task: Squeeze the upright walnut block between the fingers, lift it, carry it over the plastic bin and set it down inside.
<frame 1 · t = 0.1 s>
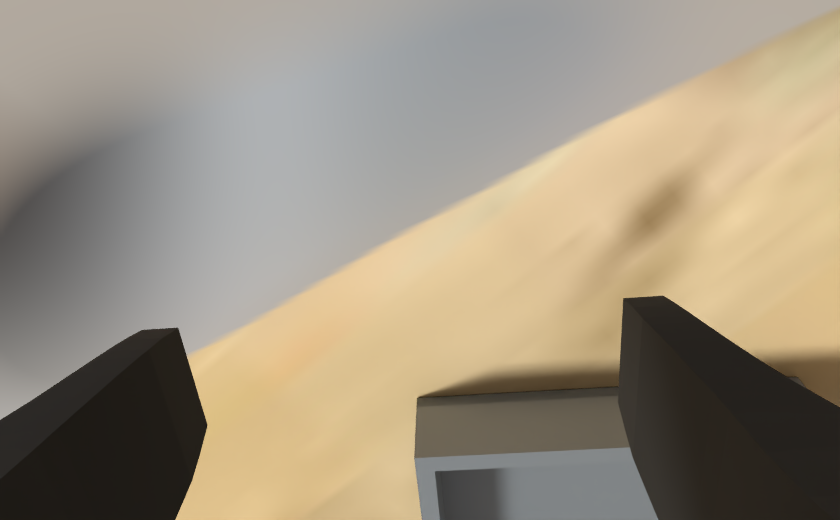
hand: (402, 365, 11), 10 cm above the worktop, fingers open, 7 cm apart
bin: (599, 493, 26), on the worktop
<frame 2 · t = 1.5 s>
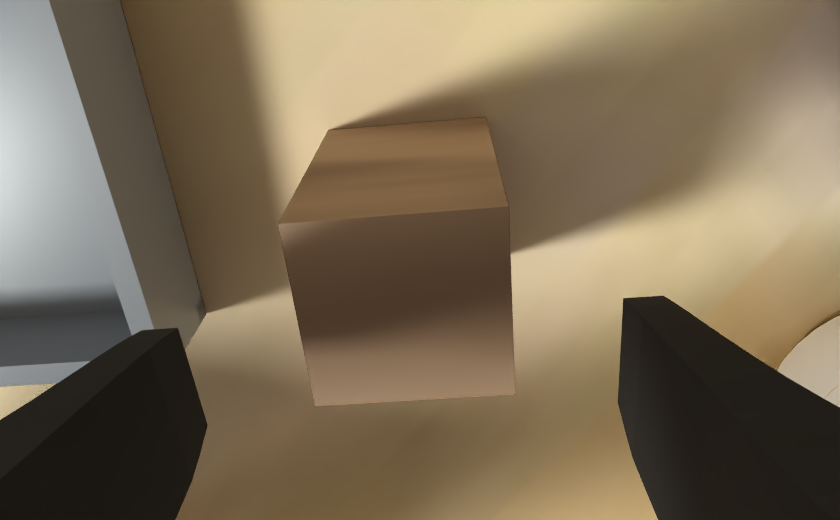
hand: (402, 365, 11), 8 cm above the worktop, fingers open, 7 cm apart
walnut block: (413, 197, 18), on the worktop
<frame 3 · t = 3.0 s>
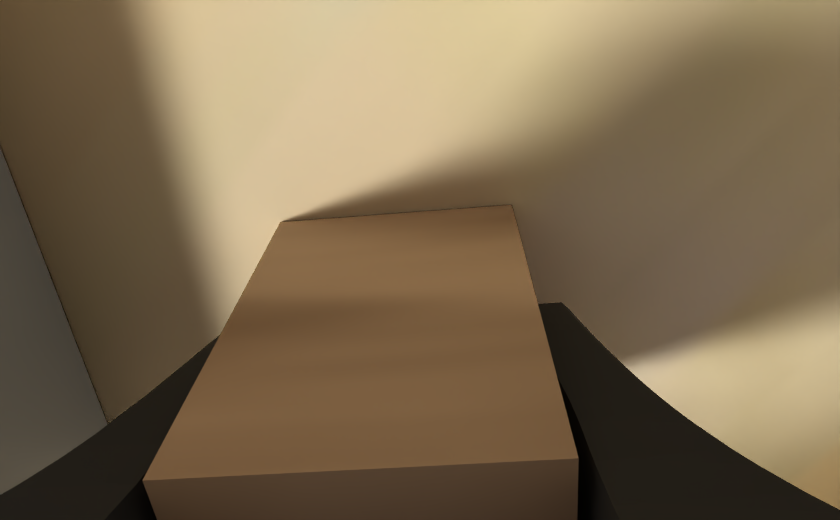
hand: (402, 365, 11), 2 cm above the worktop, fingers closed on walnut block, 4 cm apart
walnut block: (406, 313, 12), on the worktop, touching gripper
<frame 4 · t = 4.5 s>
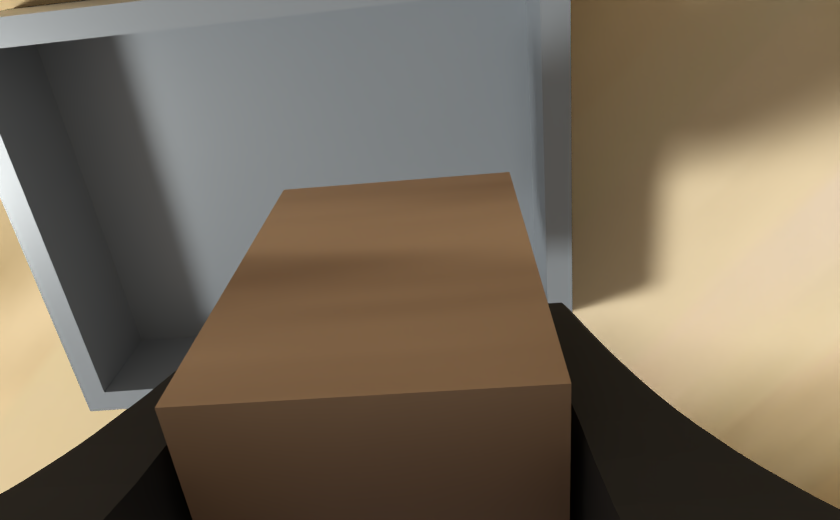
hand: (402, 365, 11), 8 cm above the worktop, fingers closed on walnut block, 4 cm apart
bin: (310, 178, 18), on the worktop
walnut block: (406, 280, 13), point 6 cm above the worktop, touching gripper
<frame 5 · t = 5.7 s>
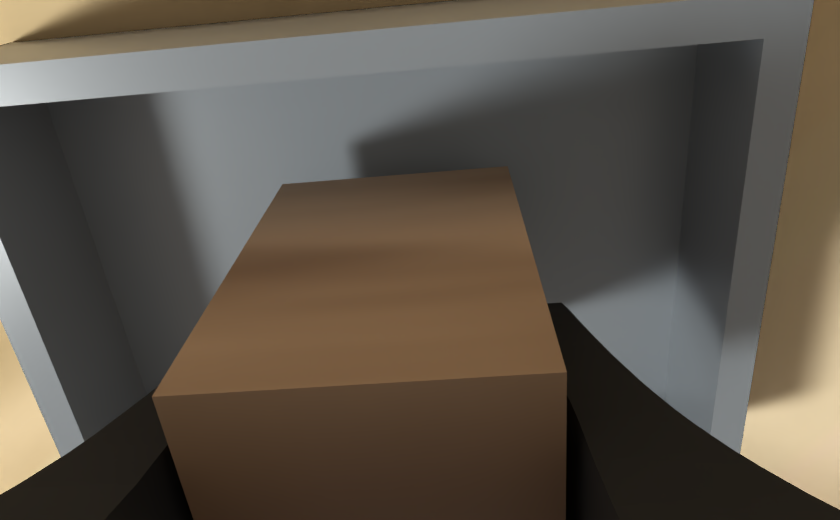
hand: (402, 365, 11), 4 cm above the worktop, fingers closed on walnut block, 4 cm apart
bin: (388, 259, 14), on the worktop
walnut block: (405, 275, 13), point 2 cm above the worktop, touching gripper
when the fingers open (4 cm above the worktop, at t = 6.3 s): walnut block drops 1 cm, resting on bin.
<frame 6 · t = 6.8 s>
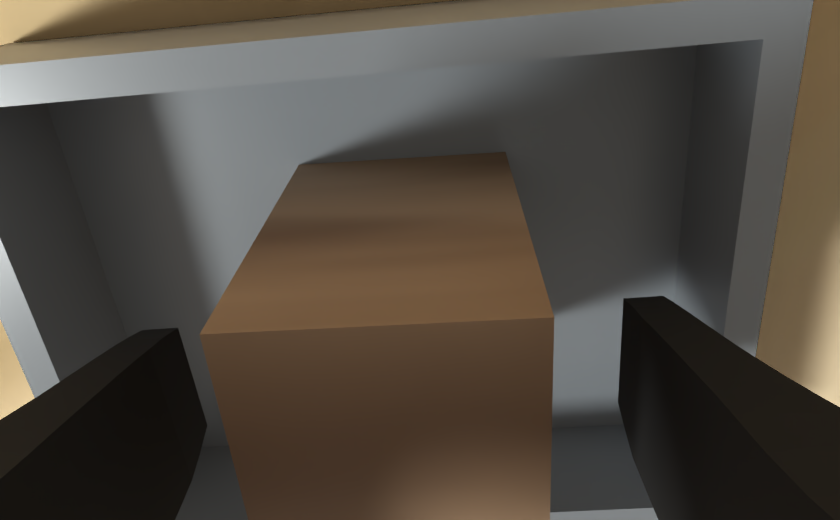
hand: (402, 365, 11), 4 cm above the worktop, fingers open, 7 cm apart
bin: (388, 259, 14), on the worktop
walnut block: (409, 251, 14), resting on bin
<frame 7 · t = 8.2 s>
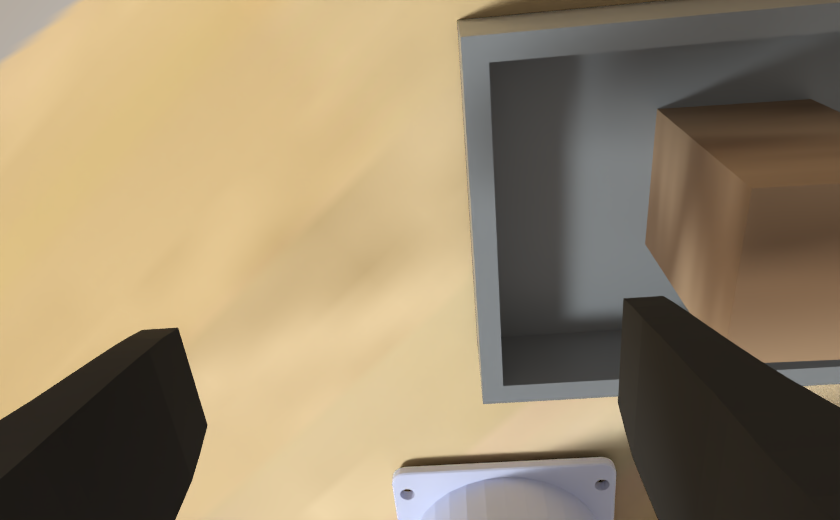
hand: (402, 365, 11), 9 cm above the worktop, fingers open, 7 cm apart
bin: (696, 184, 19), on the worktop
walnut block: (723, 175, 18), resting on bin
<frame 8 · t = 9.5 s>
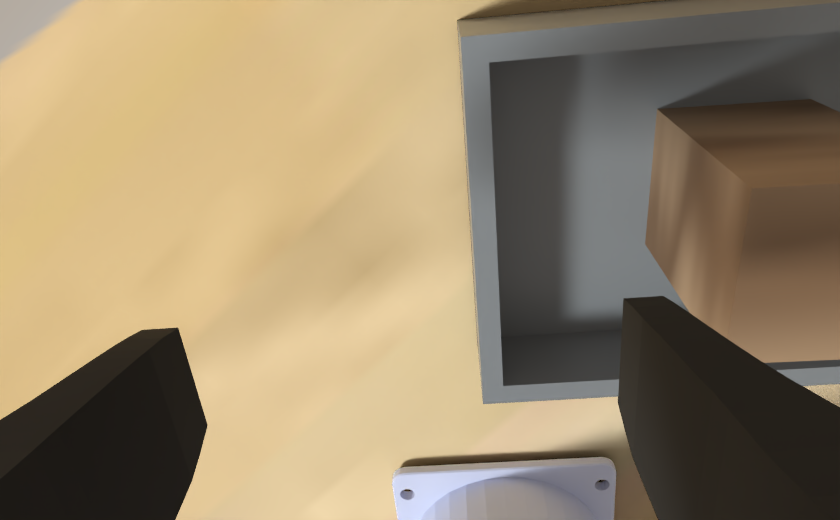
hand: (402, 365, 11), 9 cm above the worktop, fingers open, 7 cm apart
bin: (696, 184, 19), on the worktop
walnut block: (723, 175, 18), resting on bin
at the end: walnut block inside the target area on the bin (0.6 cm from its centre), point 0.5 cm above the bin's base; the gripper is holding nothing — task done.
